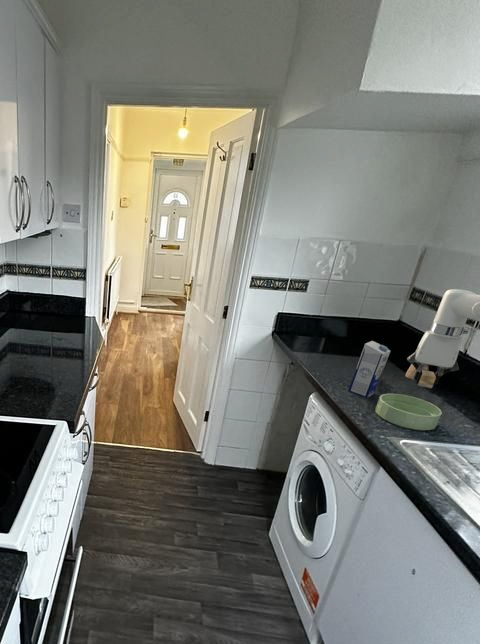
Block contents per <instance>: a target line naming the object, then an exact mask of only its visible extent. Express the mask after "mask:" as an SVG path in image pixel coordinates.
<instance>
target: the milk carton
mask: <svg viewBox="0 0 480 644" xmlns="http://www.w3.org/2000/svg"><path fill="white" fill-rule="evenodd" d="M390 354H391V350H390V349H389V348H388V346H385V345H384V344H380V343H378V342H376V341H374V340H371V341H368V342H366V343H364V346H363V348H362V351H361V354H360V357H359V360H358V362H357V365H356V368H355V371H354V372H353V373H354V374H353V377H352V379H351V382H350V384H349V387H348V390H347V391H348V392H349V391H350V392H349V393H352V394H354V393H355V395H358V396H360V397H363V398H364V399H365V398H366V399H368V398H370V397H371V396H373V395H374V394H375V392H376V389H377V387H378V384H379V382H380V379H381V376H382V375H383V372H384V369H385V366H386V365H387V361H388V360H389V359H388V358H389V356H390Z"/></svg>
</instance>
